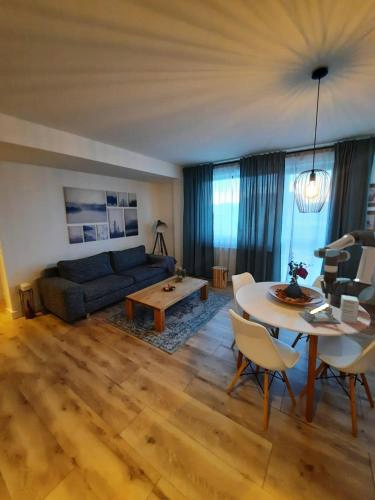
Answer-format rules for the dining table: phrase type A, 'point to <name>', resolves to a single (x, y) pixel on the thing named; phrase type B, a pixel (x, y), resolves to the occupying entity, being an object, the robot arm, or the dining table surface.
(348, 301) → the supplement box
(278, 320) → the dining table surface
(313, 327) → the dining table surface
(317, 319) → the base plate
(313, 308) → the strap
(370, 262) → the robot arm
